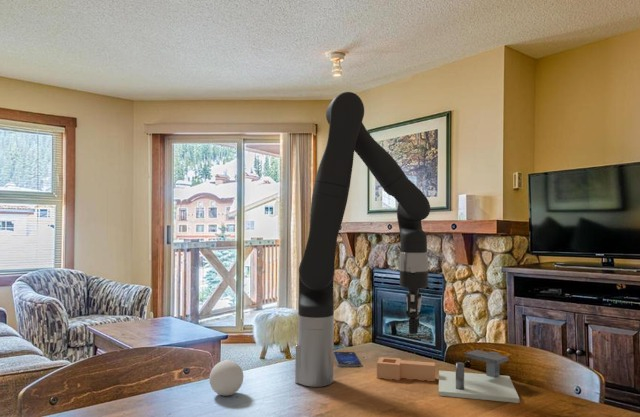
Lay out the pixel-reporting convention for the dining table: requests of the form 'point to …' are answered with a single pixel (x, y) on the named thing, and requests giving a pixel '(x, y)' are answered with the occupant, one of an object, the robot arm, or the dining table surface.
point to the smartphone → (346, 359)
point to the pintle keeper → (489, 357)
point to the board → (478, 387)
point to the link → (405, 369)
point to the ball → (226, 377)
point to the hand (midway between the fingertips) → (414, 329)
